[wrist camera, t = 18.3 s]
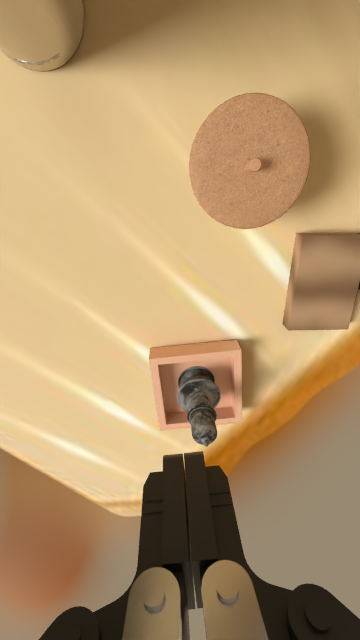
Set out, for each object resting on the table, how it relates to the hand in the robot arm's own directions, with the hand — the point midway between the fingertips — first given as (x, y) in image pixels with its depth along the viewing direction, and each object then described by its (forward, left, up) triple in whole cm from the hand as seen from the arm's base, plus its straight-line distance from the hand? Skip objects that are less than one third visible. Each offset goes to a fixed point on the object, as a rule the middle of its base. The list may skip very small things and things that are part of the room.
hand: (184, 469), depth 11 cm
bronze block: (+3, +19, -30) cm, 35 cm away
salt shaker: (+16, +2, -28) cm, 33 cm away
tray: (+16, +2, -29) cm, 33 cm away
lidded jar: (-11, +8, -29) cm, 32 cm away
